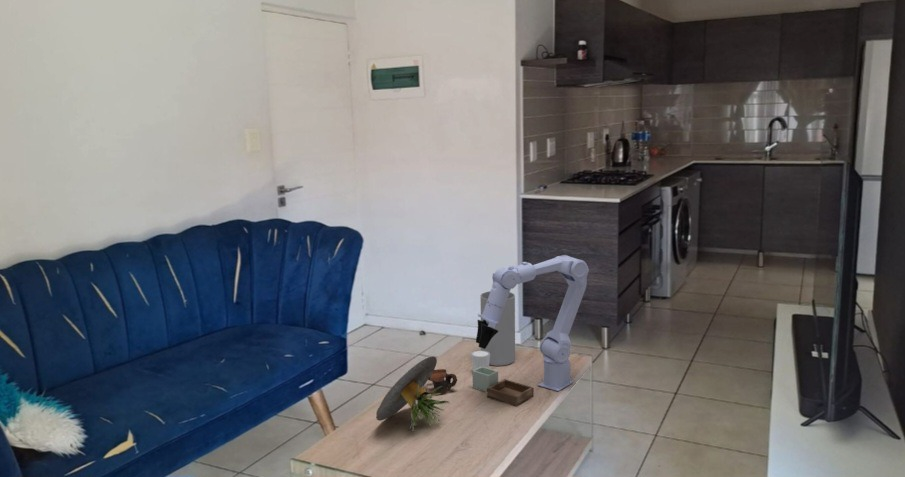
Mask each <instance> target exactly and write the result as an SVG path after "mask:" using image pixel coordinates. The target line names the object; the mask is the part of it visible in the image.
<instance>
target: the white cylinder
mask: <svg viewBox="0 0 905 477" xmlns="http://www.w3.org/2000/svg"><path fill="white" fill-rule="evenodd" d="M470 358H471V366H472V367H471V368H472V371H473V370H475V369H477V368H480V367H485V368H489V369H490V365H489V361H490V353H489V352H487V351H481V350H475V351H472V352H470Z"/></svg>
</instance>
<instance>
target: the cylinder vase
mask: <svg viewBox="0 0 905 477" xmlns="http://www.w3.org/2000/svg"><path fill="white" fill-rule="evenodd" d="M490 292H491V290H490V291H486V292H483V293H481V294H480V314H481V315H482V313H483V311H484V308H485V305H486V303H487V300H488V297H489V294H490ZM480 320H481V321H483V319H482V318H481V317H480ZM494 329H496V330H498V332H497V333H496V334H495V335H494V336H493V338H492V339H491V340H490V342H489V344H488V345H487V347H486V348H485V349H483V348H480V351H487V352H489V353H490V361H489V366H492V367H493V366H494V367H495V366H496V367H499V366H500V367H501V366H508V365H511V364H512V363H514V361H515V360H516V296H515V293H513V292H512V291H510V293H509V295H508V298H507V301H506V303H505V306H504V309H503V312H502V314H501V317H500V320H499V324H496V325H495V328H494Z"/></svg>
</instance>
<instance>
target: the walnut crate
mask: <svg viewBox="0 0 905 477" xmlns="http://www.w3.org/2000/svg"><path fill="white" fill-rule="evenodd" d="M486 397H487V399H490V400H494V401H497V402H500V403H503V404H507V405H510V406H513V407H518V406H521V405H522V404H524V403H525V402H528V401H529V400H530V399H532V398H534V387H533V386H530V385H526V384H523V383H519V382H517V381H512V380H509V379H505V378H504V379H502V380H501V381H498V383H496V384H494V385H492V386H490V387H488V388H487V392H486Z"/></svg>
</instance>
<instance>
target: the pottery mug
mask: <svg viewBox="0 0 905 477" xmlns="http://www.w3.org/2000/svg"><path fill="white" fill-rule="evenodd" d="M428 381H430V382H432V384H433V386H432V387H430V388H428V392H431V391H433V390H434V389H436V388H438V387H440V386H442V387H440V388H439V389H438V390H437V391H435V392H434V393H433V394H436V393H441V394H440V395H447V394H448V393H447V391H448V390H449V391H450V390H451V389H452V388H453V387H455V386H456V385H457V382H458V377H457V375H456V374H455V373H447V369H444V368H442V369H441V368H439V369H434V371H433V373H432V375H431V376H430V378H429V379H428ZM433 394H431V395H433Z"/></svg>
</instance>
